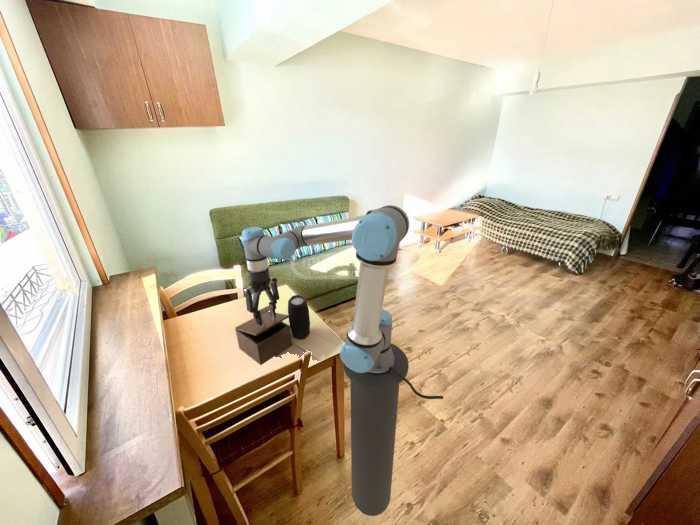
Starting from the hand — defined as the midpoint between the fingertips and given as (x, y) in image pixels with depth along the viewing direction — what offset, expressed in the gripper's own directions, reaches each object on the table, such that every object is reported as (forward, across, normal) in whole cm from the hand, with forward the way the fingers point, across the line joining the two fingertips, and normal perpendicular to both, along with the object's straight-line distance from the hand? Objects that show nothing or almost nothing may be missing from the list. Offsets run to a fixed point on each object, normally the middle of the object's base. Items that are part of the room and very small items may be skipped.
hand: (266, 320), depth 113 cm
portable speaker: (+15, -15, +2) cm, 21 cm away
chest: (+15, 0, -4) cm, 16 cm away
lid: (+3, 0, -4) cm, 5 cm away
